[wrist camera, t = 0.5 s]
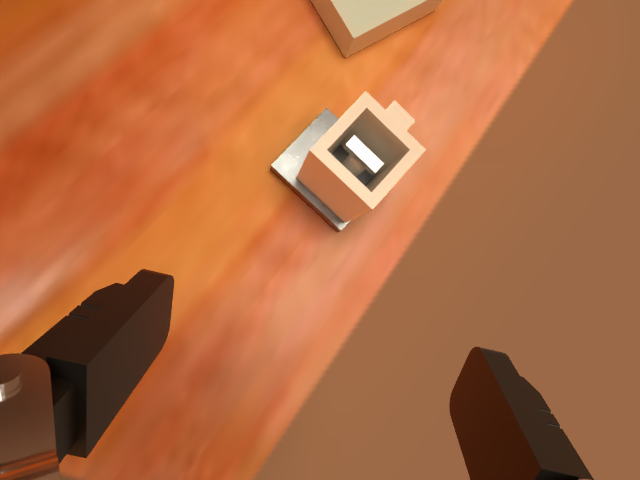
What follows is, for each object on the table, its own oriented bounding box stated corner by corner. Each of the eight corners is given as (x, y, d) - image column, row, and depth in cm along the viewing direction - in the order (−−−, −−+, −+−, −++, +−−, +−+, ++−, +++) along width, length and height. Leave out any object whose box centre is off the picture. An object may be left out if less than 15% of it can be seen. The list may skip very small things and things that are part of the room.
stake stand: (270, 169, 35) (275, 138, 26) (323, 114, 36) (344, 67, 27) (337, 232, 35) (363, 221, 27) (387, 175, 36) (428, 148, 28)
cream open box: (296, 177, 33) (309, 149, 25) (349, 121, 34) (377, 78, 27) (345, 223, 34) (372, 209, 26) (395, 166, 35) (436, 137, 27)
